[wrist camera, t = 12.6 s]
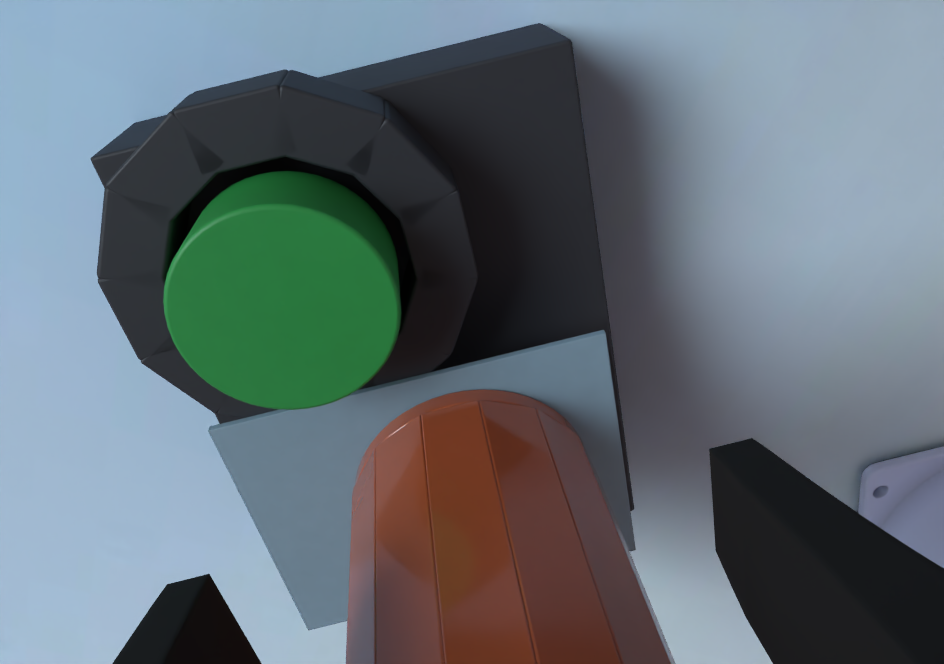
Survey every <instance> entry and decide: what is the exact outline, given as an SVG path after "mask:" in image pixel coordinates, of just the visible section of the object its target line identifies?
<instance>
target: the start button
mask: <svg viewBox="0 0 944 664" xmlns="http://www.w3.org/2000/svg"><path fill="white" fill-rule="evenodd" d="M163 303H164V313H165V318H166V322H167V326H168V330H169V332H170V334H171V337H172V339H173V342H174V344H175V345H176V347H177V349H178V351H179V352H180V354H181V356H182V357H183V358H184V359H185V361H186V362H187V363H188V365H189V366H190V367H191V368H192V369H193V370H194V371H195V372H196V373H197V374H198V375H199V376H200V377H201V378H202V379H204V380H205V381H206V382H207V383H209V384H210V385H211V386H213V387H215V388H216V389H218V390H219V391H221V392H223V393H224V394H226V395H229V396H231V397H233V398H235V399H237V400H240V401H243V402H245V403H248V404H252V405H256V406H260V407H264V408H272V409H281V410H297V409H308V408H313V407H319V406H323V405H326V404H329V403H332V402H335V401H337V400H340V399H342V398H344V397H347V396H348V395H350V394H352V393H353V392H355V391H357V390H358V389H360V388H361V387H362V386H364V385H365V384H366V383H367V382H369V381H370V380H371V379H372V378H373V377H374V376H375V375H376V374H377V373H378V372H379V370H380V369H381V368H382V367H383V365H384V364H385V363H386V361H387V360H388V358H389V356H390V354H391V352H392V351H393V348H394V346H395V343H396V341H397V338H398V334H399V329H400V324H401V300H400V286H399V272H398V259H397V255H396V250H395V246H394V243H393V241H392V238H391V235H390V233H389V232H388V230H387V228H386V226H385V224H384V223H383V221H382V220H381V218H380V217H379V216H378V214H377V213H376V212H375V211H374V210H373V209H372V207H371V206H370V205H369V204H368V203H367V202H366V201H364V200H363V199H362V198H361V197H360V196H358V195H357V194H356V193H354V192H353V191H351V190H350V189H348V188H346V187H345V186H343V185H341V184H339V183H337V182H335V181H333V180H330V179H327V178H324V177H321V176H318V175H314V174H309V173H304V172H295V171H276V172H268V173H262V174H258V175H254V176H251V177H248V178H245V179H243V180H241V181H239V182H237V183H234V184H232V185H231V186H229V187H228V188H226V189H225V190H223V191H222V192H220V193H219V194H218V195H217V196H216V197H215V198H214V199H213V200H211V201H210V203H209V204H208V205H207V206H206V207H205V209H204V210H203V211H202V212H201V214H200V216H199V217H198V219H197V221H196V222H195V224H194V226H193V227H192V229H191V230H190V232H189V234H188V235H187V237H186V239H185V240H184V242H183V243H182V245H181V247H180V248H179V250H178V252H177V253H176V255H175V257H174V258H173V260H172V263H171V265H170V268H169V270H168V273H167V276H166V281H165V286H164V298H163Z"/></svg>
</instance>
